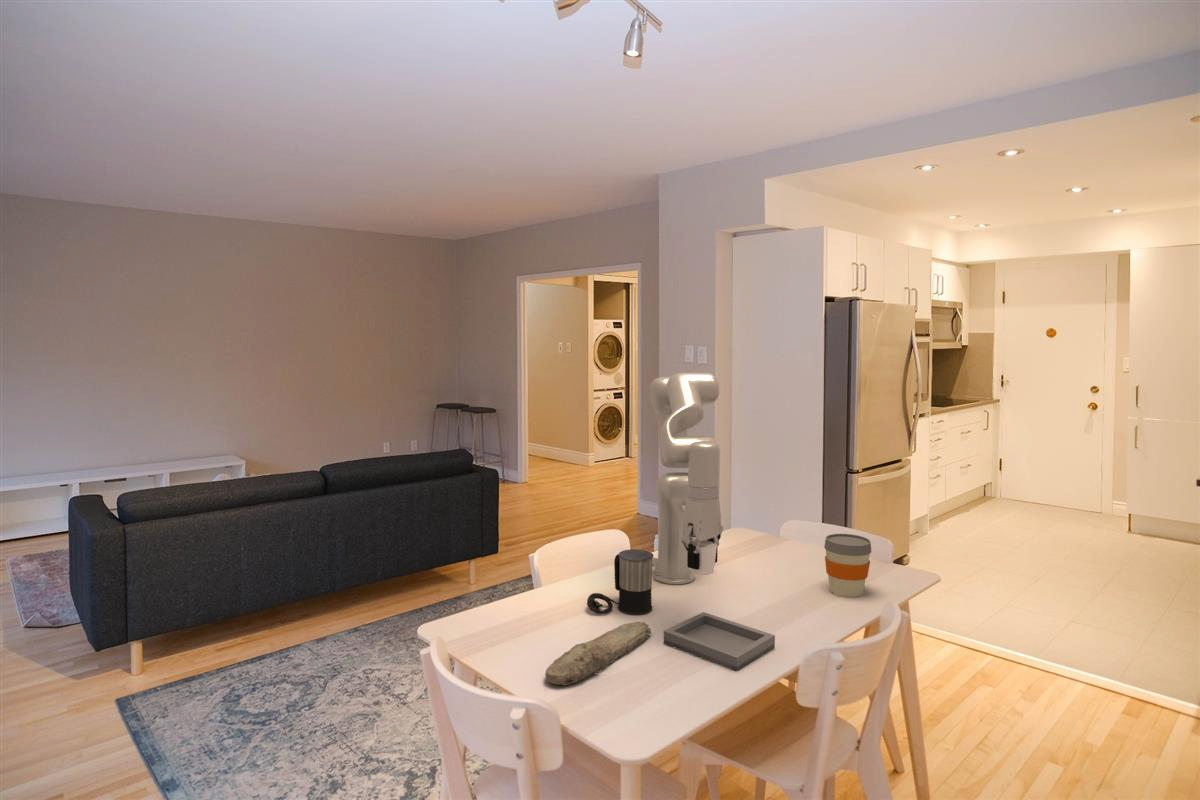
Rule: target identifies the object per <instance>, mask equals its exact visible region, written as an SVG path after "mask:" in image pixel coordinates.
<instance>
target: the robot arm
mask: <svg viewBox="0 0 1200 800" xmlns="http://www.w3.org/2000/svg"><path fill="white" fill-rule="evenodd" d="M649 391H650V392H649V394H650V400H651V405H652V408H653V411H654V413H655V416H656V420H657V423H658V446H659V447H658V448H659V451H658V452H659V459H660V463H661V464H662V466H663V467H665V468H669V469H687V470H688V472H685V471H684V472H681V471H680V472H676V471H675V472H666V473H662V474H660V476H658V478H657V479H656V482H655V491H656V499H657V510H658V511H657V512H658V529H657V530H658V538H657V540H658V542H657V544H658V545H657V551H658V552H657V553H658V554H657V558H656V557H654V556H653V558H652V567H654V571H652V579H653V580H655V581H657V582H660V583H662V582H663V584H668V585H684V584H686V585H687V584H690V583H692V582H694V581H695V579H696V574H694V573H692V572H691V568H692V569H696V570H698V569H699V564H700V553H698V550H699V546H700V542H702V541H705V540H707V541H712V542H715V543H716V544H717V549H716V558H715V564H716V563H718V547H719V545H720V539H721V537H722V533H723V532H724V526H723V525H722V515H721V513H722V512H721V502H720V473H721V472H720V467H721V466H720V465H721V459H720V458H721V456H720V455H721V449H720V445H719V443H718V442H717V440H716V439H715V438H713V437H710V436H709V437H708V436H703V435H702V436H701V435H688V434H689V433H688V429H691V428H694V427H695V426H697V425H699V424H700V422H702V420H703V419H704V417H705V416H704V415H705V409H704V406H705V405H710V404H714V403H716V401H717V400H718V399H719V395H720V385H719V381H718V379H717V377H716V376H715V374H713V373H710V372H678V373H674V374H672V375H671V376H660V377H657V378H655V379H653V381H652V382H651V383H650V390H649ZM703 405H704V406H703ZM683 506H684V508H683ZM694 538H695V539H694ZM693 542H695V547H694V546H693V544H692V543H693Z"/></svg>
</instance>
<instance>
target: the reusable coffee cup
mask: <svg viewBox="0 0 1200 800" xmlns="http://www.w3.org/2000/svg"><path fill="white" fill-rule="evenodd" d="M824 549H825V556H824V562H825V570H826V571H825V572H826V574H827V578H828V585H829V586H828V587H829V591H830V592H831V593H832V592H833V593H832V594H834V595H836V594H837V595H836V596H839V595H840V597H844V596H845V597H846V598H858V597H861V596H863V595H864V589H865V583H866V579H867V578H868V576H869V569H870V565H871V561H870V556H871V554H872V541H871V539H869V538H867V537H864V536H862V535H857V534H852V533H851V534H850V533H833V534H828V535H826V536H825V540H824Z"/></svg>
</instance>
